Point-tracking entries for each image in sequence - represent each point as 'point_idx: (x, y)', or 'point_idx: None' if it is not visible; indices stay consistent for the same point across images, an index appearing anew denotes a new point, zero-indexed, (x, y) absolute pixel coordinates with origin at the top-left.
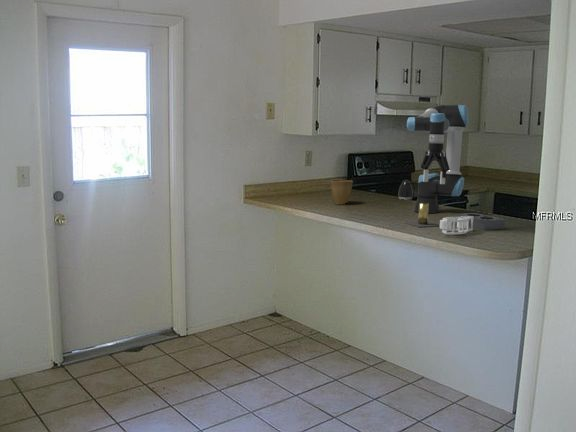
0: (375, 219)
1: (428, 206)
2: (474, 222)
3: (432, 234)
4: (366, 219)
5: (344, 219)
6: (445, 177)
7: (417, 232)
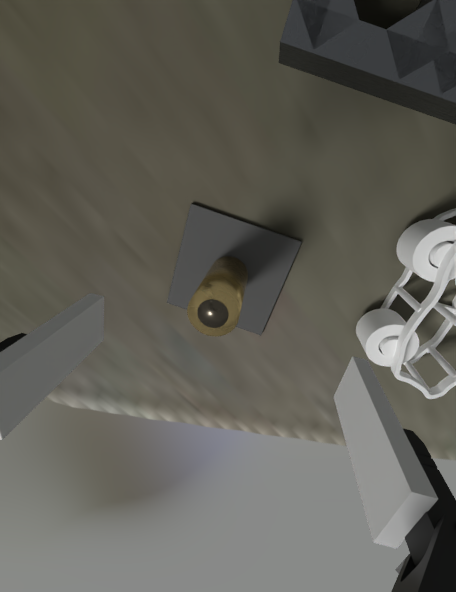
0: None
1: (238, 298)
2: (449, 111)
3: None
4: None
5: None
6: (413, 438)
7: (318, 403)
